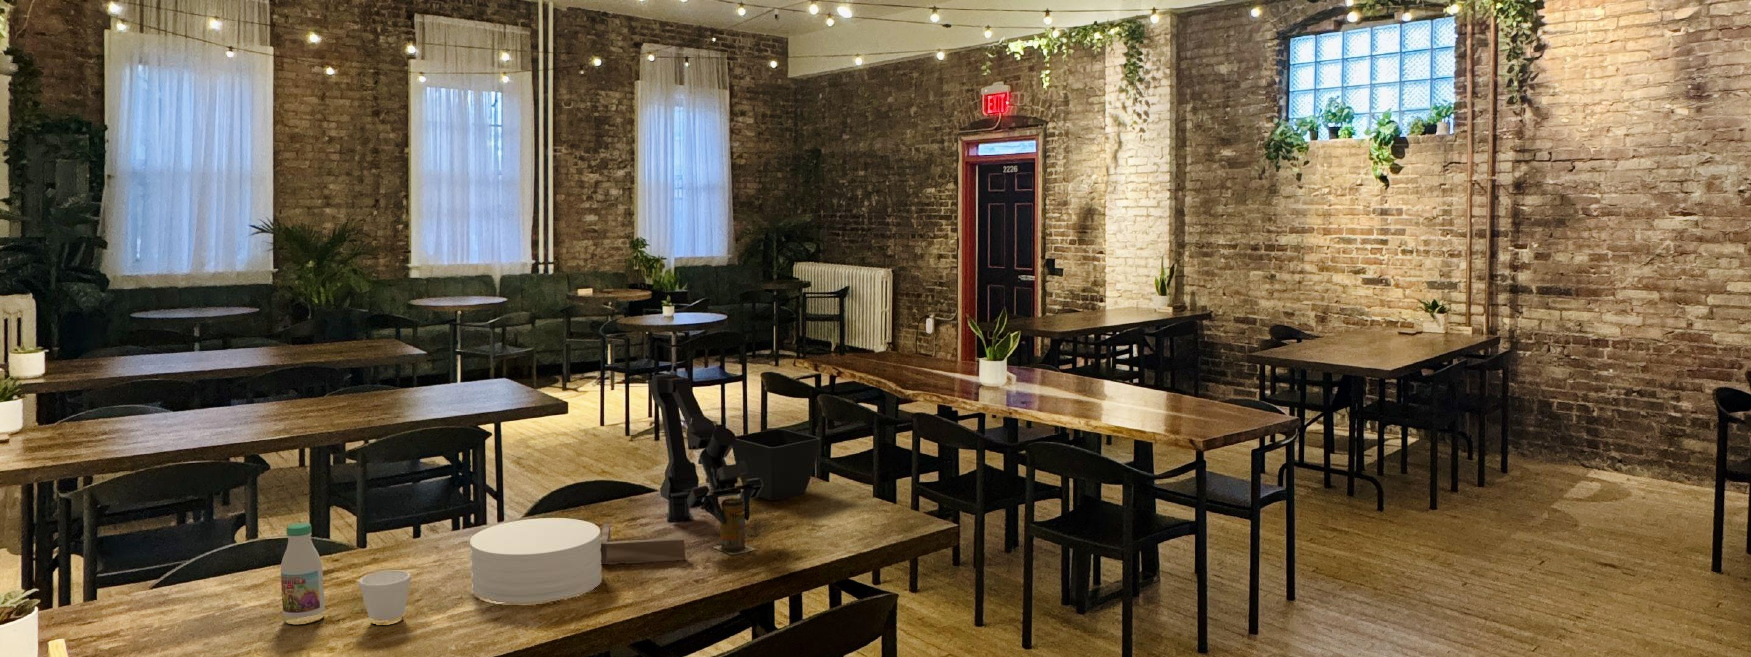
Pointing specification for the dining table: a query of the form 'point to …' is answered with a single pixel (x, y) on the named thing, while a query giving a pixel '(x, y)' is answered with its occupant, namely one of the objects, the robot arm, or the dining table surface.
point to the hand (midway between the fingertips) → (736, 522)
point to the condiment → (733, 528)
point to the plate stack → (536, 560)
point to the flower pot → (777, 461)
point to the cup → (385, 593)
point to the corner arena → (639, 549)
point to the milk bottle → (301, 574)
